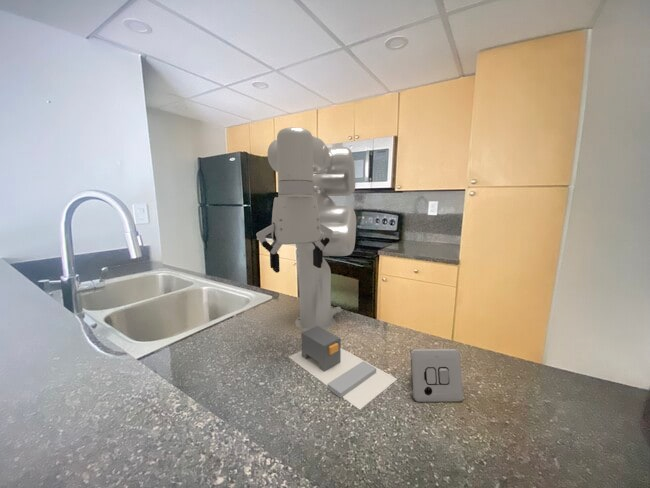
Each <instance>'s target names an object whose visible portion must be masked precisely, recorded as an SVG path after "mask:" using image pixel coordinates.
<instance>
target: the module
mask: <svg viewBox="0 0 650 488" xmlns="http://www.w3.org/2000/svg"><path fill="white" fill-rule="evenodd" d="M300 334H301V336H300V337H301V339H300V340H301V351H302V357H304V358H305V359H308V358H310V357H312V358H313V359H315V360H316V361H318V362H319V369H321V370H322V371H324V372H325V371H327V370H328V369H330V368H332V367H334V366H335V365H337V364H339V363H340V360H341V348H342V347H341V346H342V345H341V341H342V340H341V337H339V336H338V335H336V334H333V333H332V332H330V331H328V330H324V329H322V328H320V327H318V326H316V327H314V328H312V329H309V330H307V331H306V330H303V332H301V333H300Z"/></svg>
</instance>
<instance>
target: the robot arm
mask: <svg viewBox="0 0 650 488" xmlns="http://www.w3.org/2000/svg"><path fill="white" fill-rule="evenodd" d="M267 160H268V163H269V165H270V167H271V168H272V170H273V171H275V172H276V173H277V193H278V194H277V195H278V196H275V197H274V199H273V203H272V204H273V206H272V213H271V215H272V217H271V224H270V225H268V226H267V227H265V228H263V229H261V230H260V231H258V232H256V234H255V235H256V237H257V239H258V241H259V243H260V244H261V246H262V247H263V248H264V249H265V250H266V251H267V252H269V265H270V268H271V269H272V270H273V272H274V273H277V274H278V273H279V272H281V271H280V253H278V252H279V250H280V248H281V247H282V246H283V245H295V247H296V252H297V259H298V283H299V284H298V286H299V294H298V295H299V317H298V318H296V319H295V322H294V324H295V326H296V327H297V328H298V329H300V330H302V331H307V330H309V329H312V328H314V327H316V326H318V327H320V328H322V329H324V330H326V331H328V330H330V329H331V328H332V329H333V327H334V326H335V325H336V319H335V318H334V317H335V315H337V314H339V313H341V312H342V308H341V307H340V306H336V307H333V306H332V305H331V304H332V299H331V297H332V296H331V293H332V292H331V291H332V289H331V288H332V286H331V285H332V283H331V281H332V279H331V278H332V277H331V276H332V274H331V267H330V264H329V263H328V261H326V259H325V258H324V257H326V256H328V257H345V256H346V257H347V256H350V255H351V254H352V253H353V252H354V250H355V246H356V245H355V244H356V236H357V235H356V233H357V214H356V211H355V210H354V209H353V207H351V206H347V205H336V203H335V202H334V200H333V199H332V198H331V197H346V196H347V197H348V196H351V195H353V194H354V192H355V190H356V173H355V170H356V169H355V159H354V155H353V153H352V150H351V148H349V147H347V146H336V147H334V146H333V147H331V146H330V147H328V145H326V143H325V142H324V141H323V140H322V139H321V138H319V137H316V136H314V135H313V134H312V133H311V131H310V130H308V129H306V128H302V127H296V126H295V127H293V126H291V127H286V128H282V129H280V130H279V131H278V133H277V135H276V139H274V140H272V141H271V143H270V144H269V146H268V148H267ZM269 234H271V239H272V241H273V242H272V243H271V244H270V243H269V242H268V240H267V239H266V236H268V235H269Z"/></svg>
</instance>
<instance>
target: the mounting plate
mask: <svg viewBox="0 0 650 488" xmlns="http://www.w3.org/2000/svg"><path fill="white" fill-rule="evenodd" d="M288 359H290V360H291V361H293V362H294V363H295V364H297V365H298V366H300V367H301V368H302V369H304V370H305V371H306V372H308V373H309V374H311V375H312V376H313V377H315V378H316V379H317V380H319V381H320V382H321V383H322V384H324V385H326V387H327V389H328V390H329V391H330V392H332V393H333V394H334V395H336V396H337V397H339V398H340V399H341V398H343V399H344V400H346V401H347V402H348V403H350V404H351V405H353V406H354V407H355V408H356V409H358V410H361V409H363V408H364V407H365V406H367V405H368V404H369V403H370V402H372V400H374V399H375V398H376V397H377V396H379V395H380V394H381V393H382V392H384V391H385V390H386V389H387V388H388V387H390V386H391V385H392V384H393V383H395V382H396V381H397V380H398V378H396V377H395V376H393V375H391V374H389V373H387V372H385V371H383V370H382V369H380V368H378V367H376V366H374V365H372V363H369V362H368V361H366V360H363V359H362V358H360V357H358V356H356V355H354V354H353V353H351V352H349V351H348V350H345V348H342V347H341V360H340V363H339V364H337V365H335V366H334V367H332V368H330V369H328V370H327V371H325V372H324V371H322V370H321V369H319V362H318V361H316V360H315V359H313V358H312V357H310V358H308V359H305V358H304V357H302V350H299V351H298V352H295V353H293V354H291V355H289V356H288Z"/></svg>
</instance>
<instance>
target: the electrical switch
mask: <svg viewBox="0 0 650 488" xmlns="http://www.w3.org/2000/svg"><path fill="white" fill-rule="evenodd" d="M409 352H410V354H409V355H410V372H411V384H412V388H413V389H412V398H413V400H414V401H416V402H418V403H422V402H423V403H427V402H428V403H429V402H433V403H434V402H442V403H443V402H462V401H463V399H464V393H463V392H464V391H463V379H462V378H463V377H462V366H461V365H462V364H461V353H460V351H459V350H457V349H456V348H434V349H433V348H429V349H427V348H423V349H422V348H417V349H415V348H414V349H410V350H409Z"/></svg>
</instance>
